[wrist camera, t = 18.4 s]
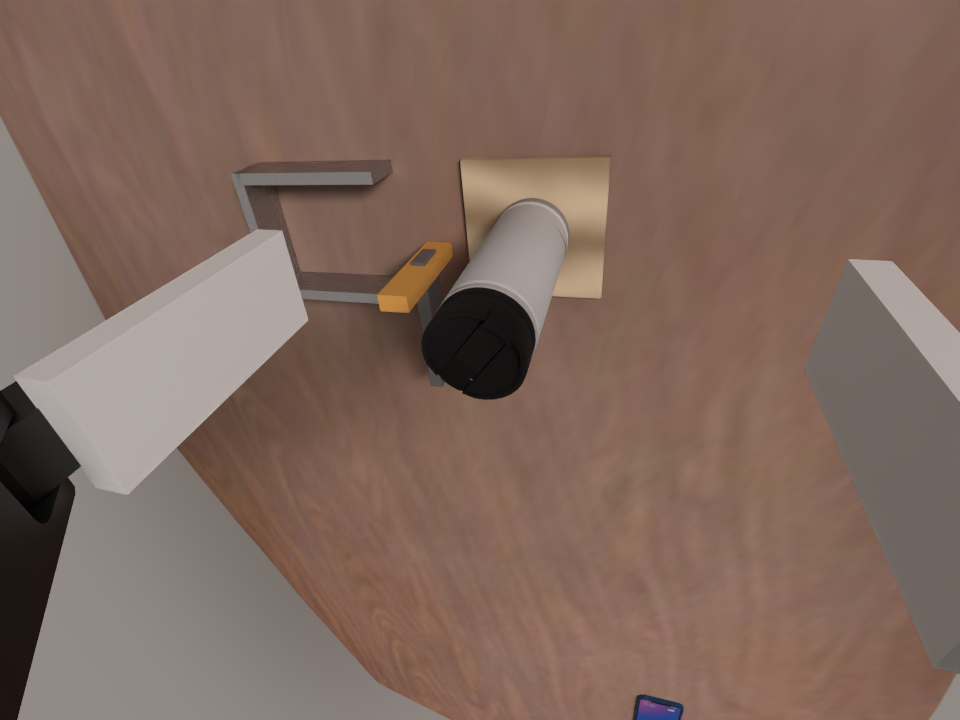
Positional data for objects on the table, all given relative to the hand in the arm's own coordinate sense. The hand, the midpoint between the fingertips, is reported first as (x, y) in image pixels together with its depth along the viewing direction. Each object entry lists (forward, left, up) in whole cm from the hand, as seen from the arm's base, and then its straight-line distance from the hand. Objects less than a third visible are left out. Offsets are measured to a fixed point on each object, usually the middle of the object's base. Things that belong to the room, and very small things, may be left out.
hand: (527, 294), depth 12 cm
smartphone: (+97, +15, -31) cm, 103 cm away
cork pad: (+10, -5, -31) cm, 33 cm away
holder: (+10, -25, -31) cm, 41 cm away
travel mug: (+10, -5, -30) cm, 32 cm away
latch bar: (+17, -14, -31) cm, 38 cm away
